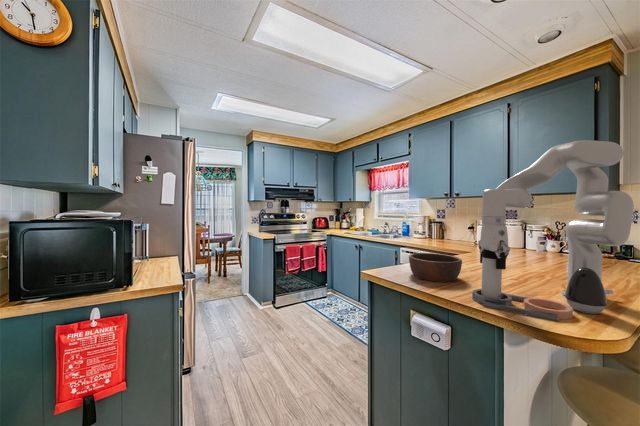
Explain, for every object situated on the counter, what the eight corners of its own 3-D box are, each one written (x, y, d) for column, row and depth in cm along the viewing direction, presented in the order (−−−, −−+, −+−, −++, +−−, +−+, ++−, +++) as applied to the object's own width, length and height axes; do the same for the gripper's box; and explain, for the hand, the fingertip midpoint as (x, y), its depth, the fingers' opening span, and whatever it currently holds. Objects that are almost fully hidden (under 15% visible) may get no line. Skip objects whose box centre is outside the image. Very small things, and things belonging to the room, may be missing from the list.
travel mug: (505, 304, 95) (506, 250, 95) (485, 303, 97) (486, 250, 96) (497, 298, 102) (498, 248, 101) (478, 297, 103) (479, 247, 102)
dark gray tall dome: (559, 308, 92) (560, 266, 92) (571, 303, 97) (572, 263, 97) (600, 319, 83) (602, 272, 83) (610, 313, 88) (612, 269, 88)
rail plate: (470, 303, 96) (470, 296, 96) (475, 292, 110) (475, 286, 109) (557, 321, 82) (558, 313, 82) (551, 305, 95) (551, 298, 95)
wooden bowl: (453, 272, 143) (454, 254, 142) (468, 286, 118) (469, 263, 118) (406, 269, 148) (406, 251, 148) (411, 281, 124) (411, 260, 124)
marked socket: (549, 305, 96) (550, 298, 95) (582, 319, 83) (583, 311, 83) (515, 304, 96) (515, 297, 96) (543, 318, 84) (543, 311, 84)
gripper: (520, 222, 90) (518, 272, 90) (489, 220, 107) (488, 261, 107) (498, 222, 90) (496, 271, 90) (470, 220, 107) (469, 261, 108)
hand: (492, 266), depth 99 cm, fingers open, 9 cm apart
